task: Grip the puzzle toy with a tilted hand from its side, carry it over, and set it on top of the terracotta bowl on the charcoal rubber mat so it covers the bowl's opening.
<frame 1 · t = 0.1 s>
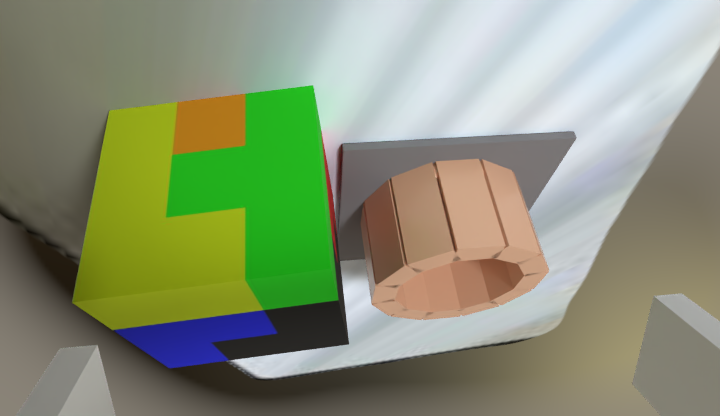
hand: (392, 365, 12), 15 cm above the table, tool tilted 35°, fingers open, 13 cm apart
rubber mat: (438, 202, 35), on the table
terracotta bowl: (439, 208, 35), resting on rubber mat
puzzle toy: (237, 156, 29), on the table
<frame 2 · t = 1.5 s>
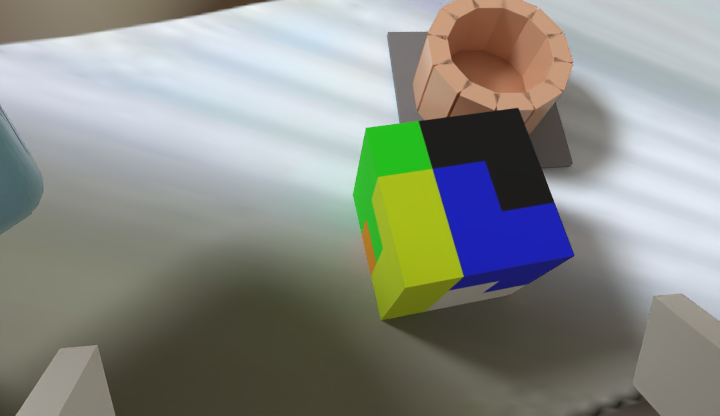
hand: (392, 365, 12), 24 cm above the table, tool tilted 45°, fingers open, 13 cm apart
rubber mat: (474, 98, 44), on the table
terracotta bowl: (476, 95, 44), resting on rubber mat
puzzle toy: (428, 244, 39), on the table
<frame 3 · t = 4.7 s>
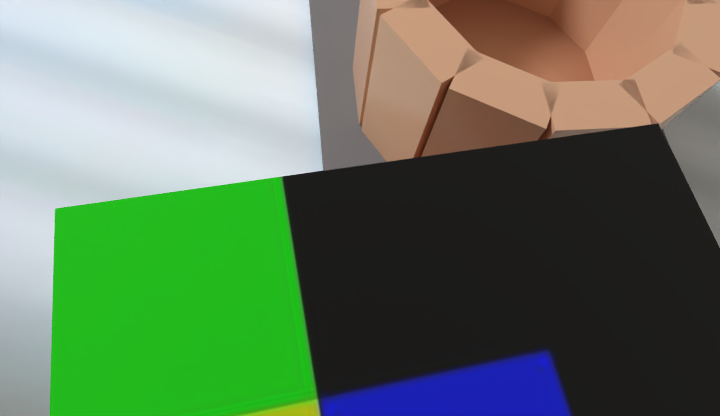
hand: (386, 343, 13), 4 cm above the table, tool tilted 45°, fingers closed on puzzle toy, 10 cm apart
rubber mat: (484, 98, 21), on the table
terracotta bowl: (488, 91, 21), resting on rubber mat
when the fingers open (12 cm above the table, at t = 9.7 s): puzzle toy drops 1 cm, resting on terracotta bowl.
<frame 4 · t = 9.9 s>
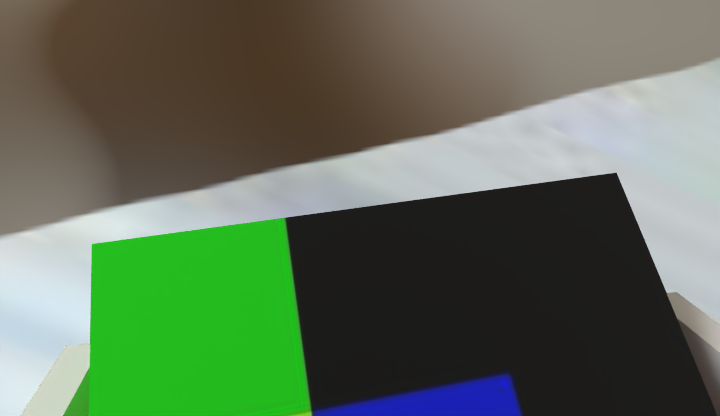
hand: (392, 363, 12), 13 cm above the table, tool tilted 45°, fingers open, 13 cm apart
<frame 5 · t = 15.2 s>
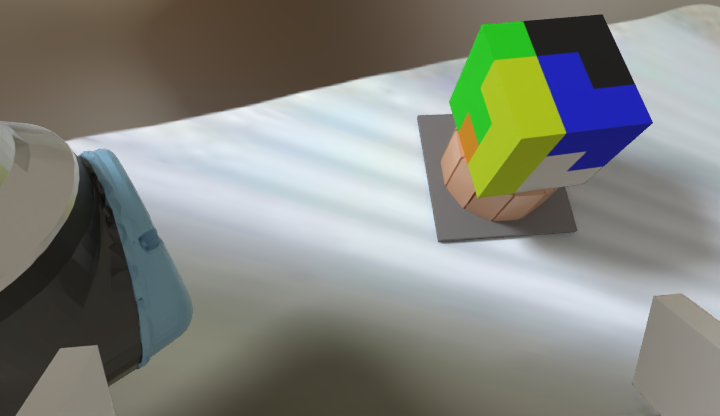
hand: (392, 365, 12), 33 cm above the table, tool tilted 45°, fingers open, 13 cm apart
rubber mat: (493, 173, 52), on the table
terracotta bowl: (494, 170, 51), resting on rubber mat
puzzle toy: (513, 143, 46), point 6 cm above the table, touching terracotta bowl
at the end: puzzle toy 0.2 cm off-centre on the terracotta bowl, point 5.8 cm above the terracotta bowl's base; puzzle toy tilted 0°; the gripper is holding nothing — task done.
